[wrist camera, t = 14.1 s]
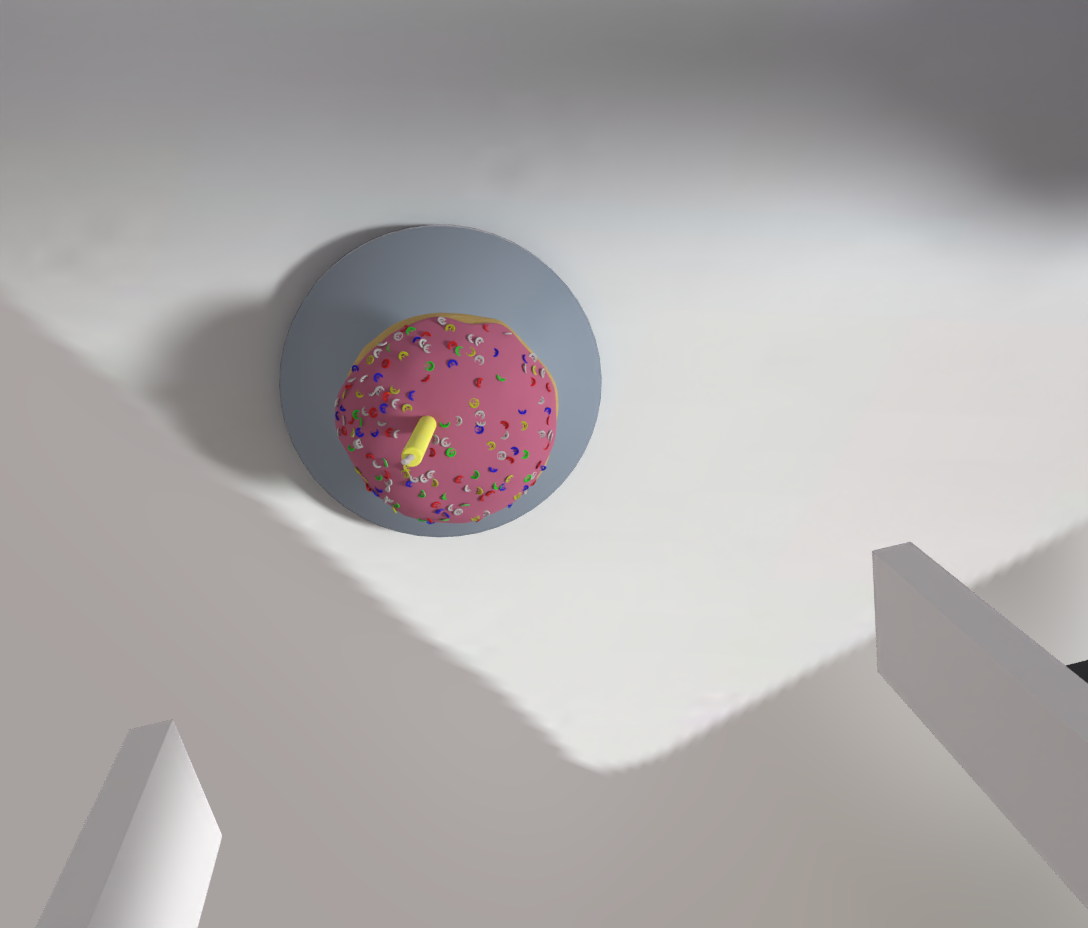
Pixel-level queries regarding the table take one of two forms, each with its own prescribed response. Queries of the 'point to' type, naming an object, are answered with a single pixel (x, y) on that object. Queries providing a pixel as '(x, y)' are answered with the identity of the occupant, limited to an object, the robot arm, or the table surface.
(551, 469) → the slate plate
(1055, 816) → the robot arm
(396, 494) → the cupcake
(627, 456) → the table surface
